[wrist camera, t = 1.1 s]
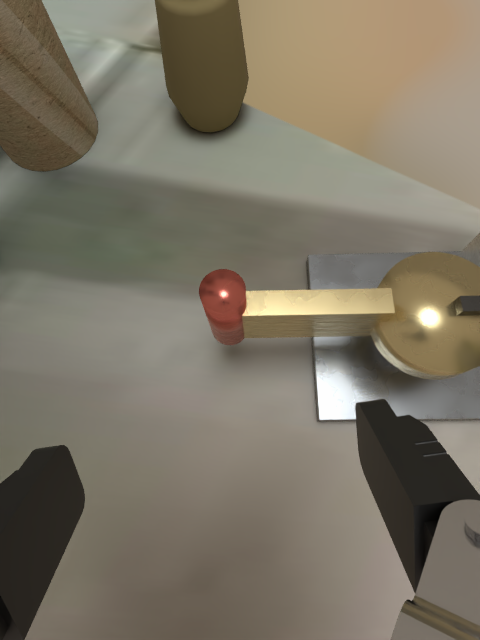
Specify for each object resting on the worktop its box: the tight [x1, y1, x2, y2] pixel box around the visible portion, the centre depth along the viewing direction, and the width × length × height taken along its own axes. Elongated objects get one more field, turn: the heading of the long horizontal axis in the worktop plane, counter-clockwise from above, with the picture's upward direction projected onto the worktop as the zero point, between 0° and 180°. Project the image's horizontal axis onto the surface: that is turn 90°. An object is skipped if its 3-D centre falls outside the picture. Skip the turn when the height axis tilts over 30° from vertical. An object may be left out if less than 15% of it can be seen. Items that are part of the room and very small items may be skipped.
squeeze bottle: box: [155, 0, 248, 132], centre depth 34 cm, size 8×8×18 cm
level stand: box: [307, 233, 480, 421], centre depth 29 cm, size 15×14×8 cm
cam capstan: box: [199, 252, 480, 380], centre depth 25 cm, size 19×8×6 cm, turn 90°
